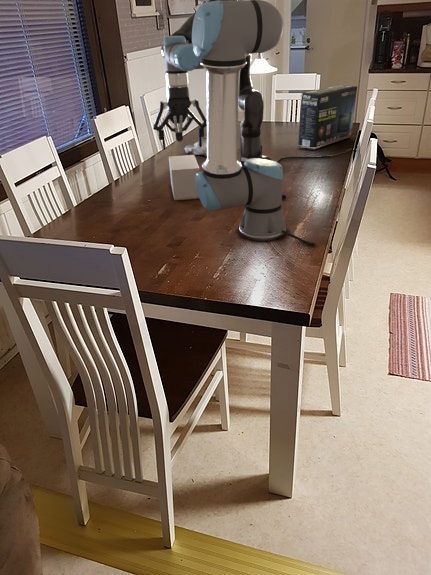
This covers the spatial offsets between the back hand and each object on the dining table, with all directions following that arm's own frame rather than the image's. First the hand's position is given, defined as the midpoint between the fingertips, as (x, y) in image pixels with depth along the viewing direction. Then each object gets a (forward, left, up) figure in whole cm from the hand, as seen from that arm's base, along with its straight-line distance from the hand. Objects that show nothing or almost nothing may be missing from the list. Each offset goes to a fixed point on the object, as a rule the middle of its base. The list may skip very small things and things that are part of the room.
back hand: (179, 141), depth 191 cm
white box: (+9, +12, -16) cm, 22 cm away
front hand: (+14, +17, +3) cm, 21 cm away
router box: (-89, +16, -16) cm, 92 cm away
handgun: (-11, +39, -16) cm, 44 cm away
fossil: (-37, -24, -16) cm, 47 cm away
